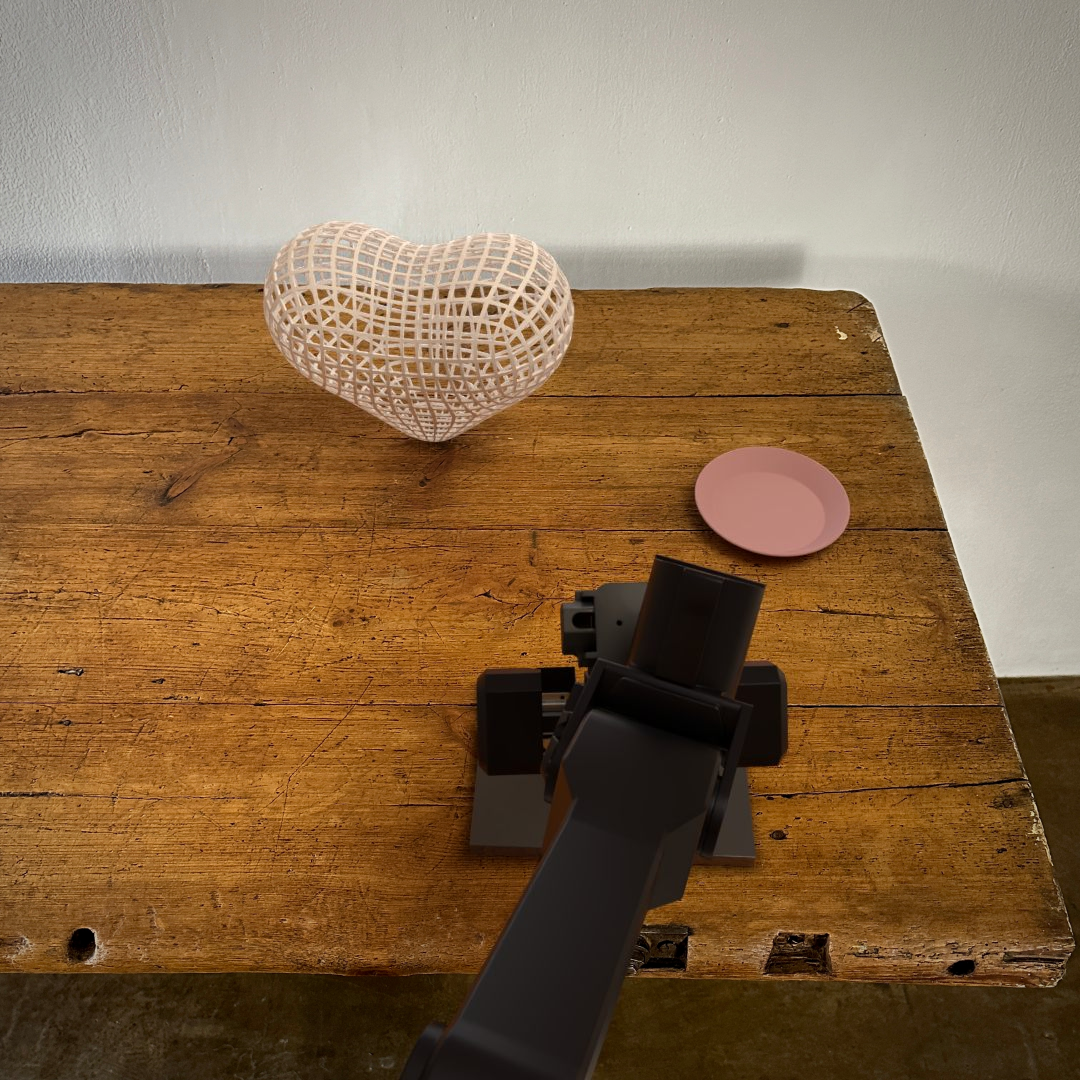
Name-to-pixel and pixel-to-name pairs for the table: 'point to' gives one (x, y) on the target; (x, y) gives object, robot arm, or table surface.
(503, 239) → the heart
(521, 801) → the serving board
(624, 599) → the robot arm
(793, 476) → the plate
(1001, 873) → the table surface
